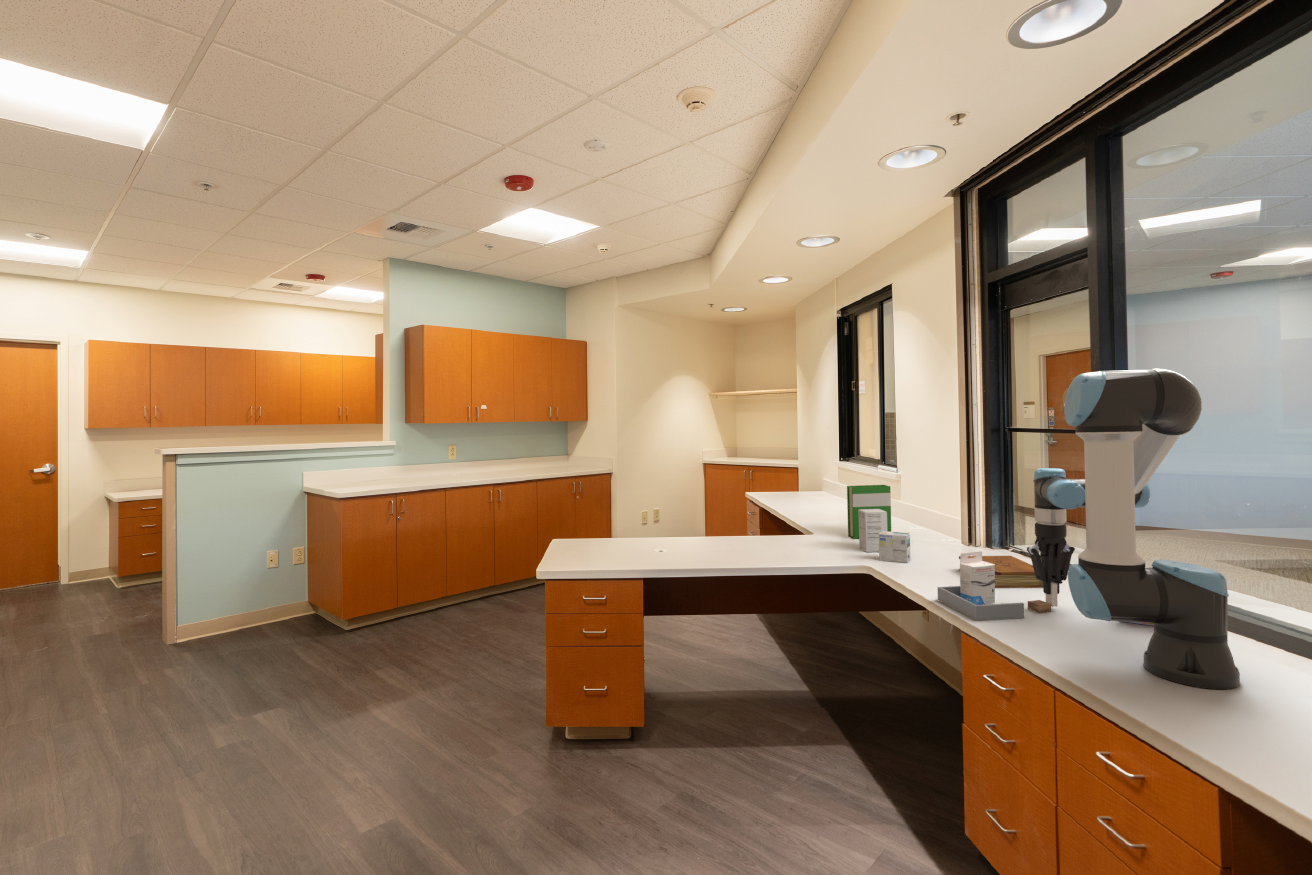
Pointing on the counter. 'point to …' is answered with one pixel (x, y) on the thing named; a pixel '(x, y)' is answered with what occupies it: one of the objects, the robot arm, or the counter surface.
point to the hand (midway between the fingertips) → (1051, 604)
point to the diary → (1012, 572)
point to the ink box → (977, 579)
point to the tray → (979, 606)
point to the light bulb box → (894, 546)
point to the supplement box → (871, 528)
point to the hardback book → (867, 504)
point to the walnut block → (1039, 606)
